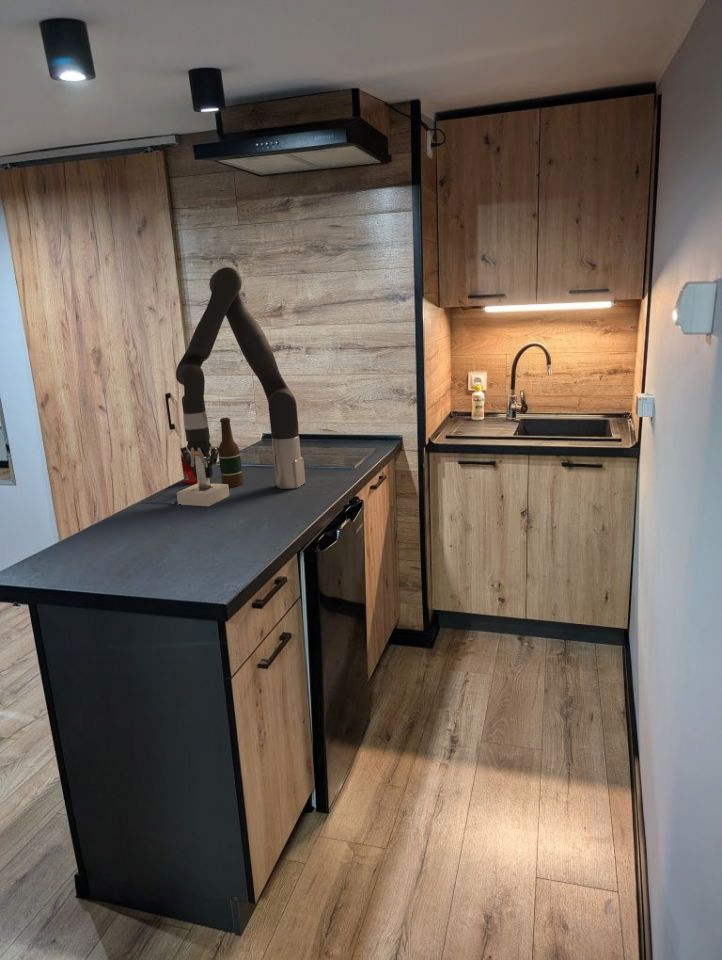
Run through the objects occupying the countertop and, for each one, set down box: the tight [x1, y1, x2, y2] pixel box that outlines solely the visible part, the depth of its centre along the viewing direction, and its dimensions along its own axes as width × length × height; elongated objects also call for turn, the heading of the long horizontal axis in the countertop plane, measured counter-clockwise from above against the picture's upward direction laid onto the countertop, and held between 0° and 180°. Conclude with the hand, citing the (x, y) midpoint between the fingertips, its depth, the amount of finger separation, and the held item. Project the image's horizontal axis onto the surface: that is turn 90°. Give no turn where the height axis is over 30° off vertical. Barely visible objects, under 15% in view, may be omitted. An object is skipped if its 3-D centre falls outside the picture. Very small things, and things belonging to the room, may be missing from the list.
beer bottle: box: [218, 417, 244, 488], centre depth 238 cm, size 8×8×24 cm
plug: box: [194, 451, 211, 491], centre depth 222 cm, size 4×4×15 cm
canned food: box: [180, 451, 198, 485], centre depth 247 cm, size 8×8×11 cm
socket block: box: [176, 483, 230, 507], centre depth 223 cm, size 12×12×4 cm
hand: (203, 477), depth 222 cm, fingers closed on plug, 4 cm apart
